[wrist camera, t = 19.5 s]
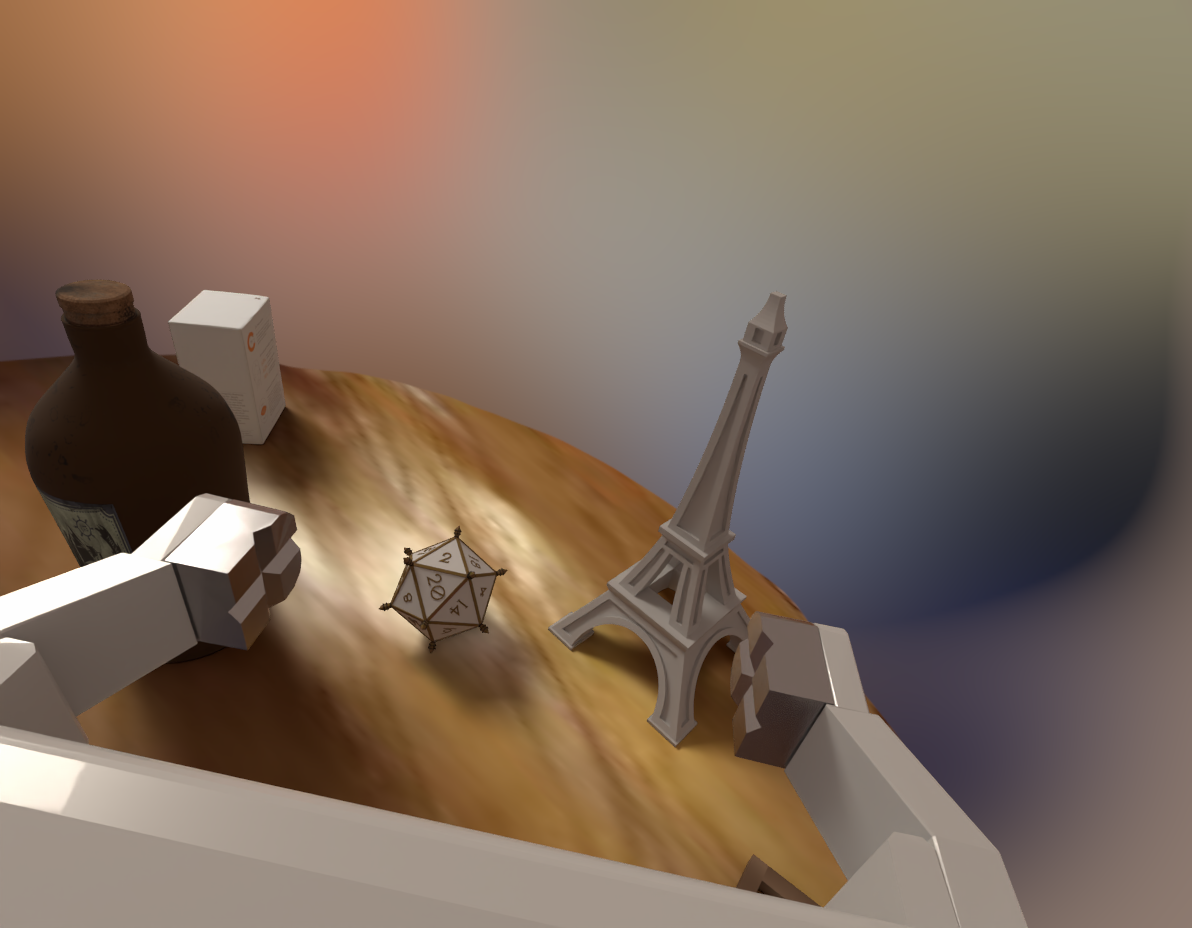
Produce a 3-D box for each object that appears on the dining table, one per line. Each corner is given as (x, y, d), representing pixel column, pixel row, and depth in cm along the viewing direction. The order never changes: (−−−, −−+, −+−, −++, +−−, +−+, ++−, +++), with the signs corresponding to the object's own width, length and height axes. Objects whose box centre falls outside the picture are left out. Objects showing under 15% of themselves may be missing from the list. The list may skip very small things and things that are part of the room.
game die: (465, 659, 51) (527, 640, 44) (362, 656, 46) (413, 635, 39) (467, 555, 55) (525, 522, 48) (372, 543, 50) (420, 505, 43)
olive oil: (213, 543, 52) (135, 243, 38) (303, 601, 49) (255, 297, 35) (72, 623, 44) (-95, 281, 30) (168, 699, 41) (33, 355, 26)
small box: (226, 401, 69) (202, 288, 62) (287, 406, 70) (271, 295, 63) (195, 441, 62) (165, 320, 55) (263, 446, 64) (242, 328, 56)
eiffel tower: (547, 630, 50) (612, 268, 33) (649, 560, 59) (742, 245, 42) (674, 748, 44) (835, 371, 27) (768, 650, 53) (934, 318, 36)
